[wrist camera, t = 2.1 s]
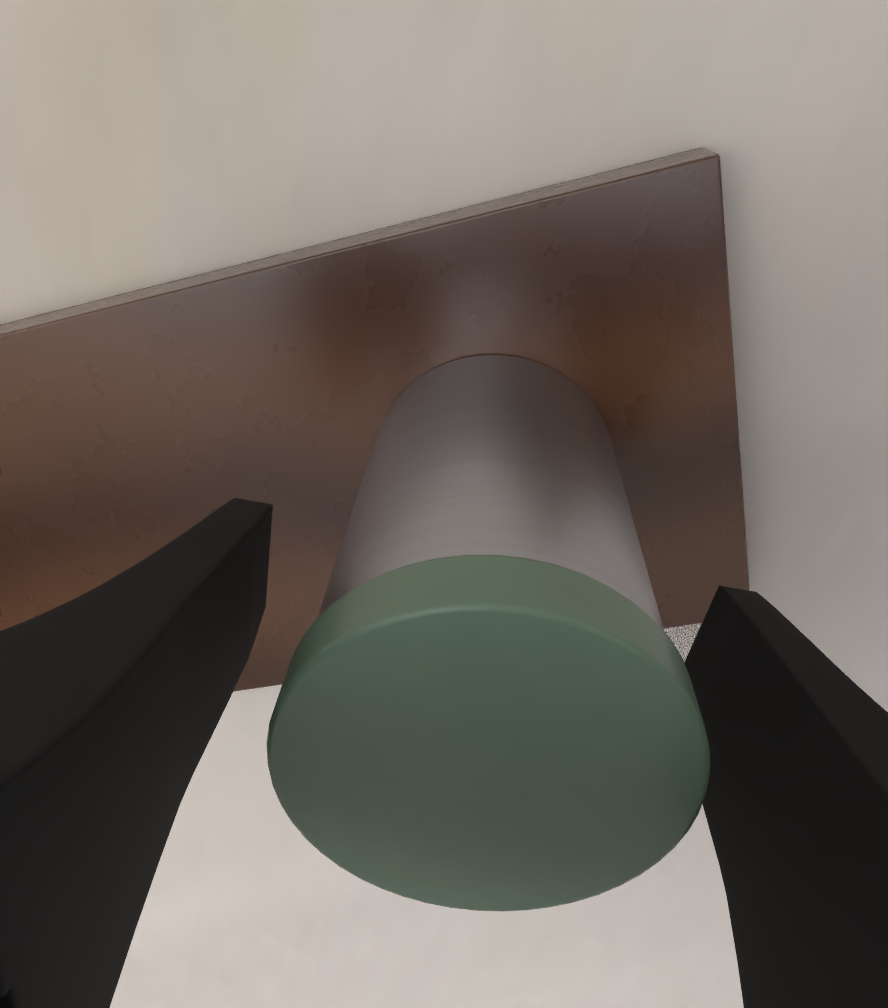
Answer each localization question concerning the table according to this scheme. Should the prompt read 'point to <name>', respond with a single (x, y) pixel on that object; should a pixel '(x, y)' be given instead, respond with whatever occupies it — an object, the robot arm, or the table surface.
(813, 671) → the robot arm
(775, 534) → the table surface
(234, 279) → the board
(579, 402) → the tin
